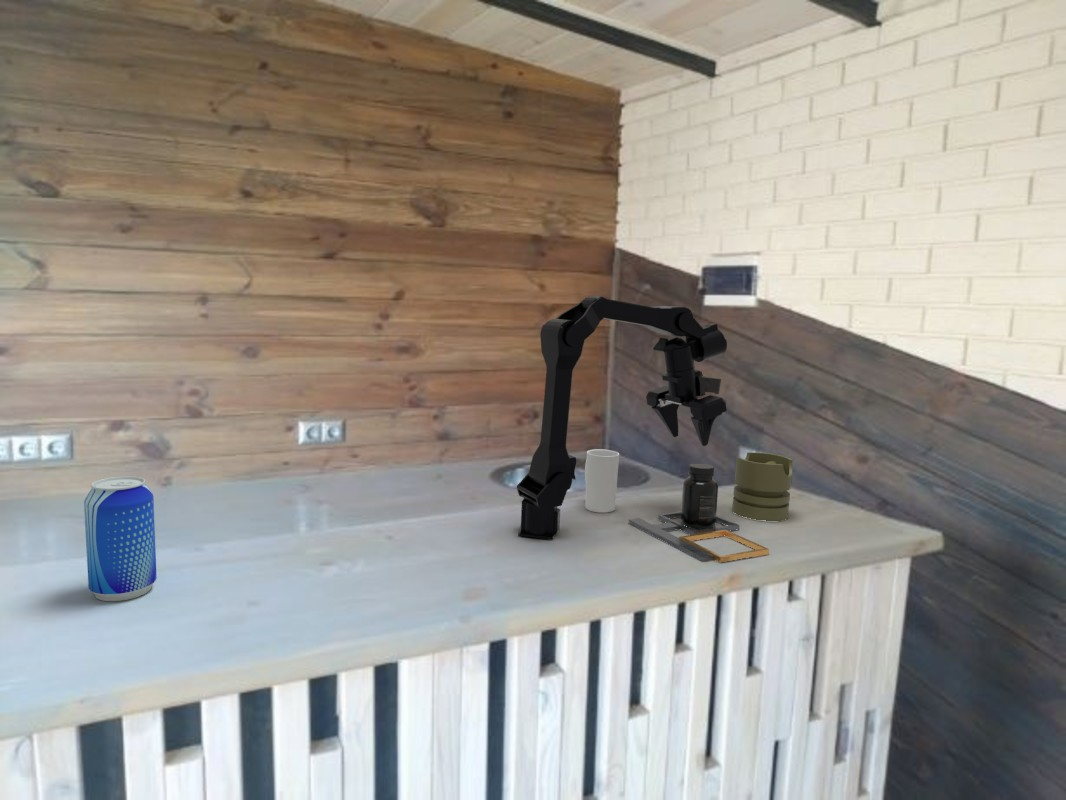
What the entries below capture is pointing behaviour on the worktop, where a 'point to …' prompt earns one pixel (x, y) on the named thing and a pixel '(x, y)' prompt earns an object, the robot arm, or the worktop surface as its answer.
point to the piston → (762, 486)
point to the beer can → (120, 538)
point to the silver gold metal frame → (698, 538)
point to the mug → (601, 480)
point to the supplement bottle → (699, 497)
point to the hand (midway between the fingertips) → (690, 440)
